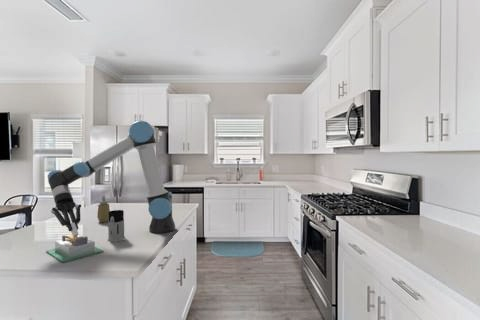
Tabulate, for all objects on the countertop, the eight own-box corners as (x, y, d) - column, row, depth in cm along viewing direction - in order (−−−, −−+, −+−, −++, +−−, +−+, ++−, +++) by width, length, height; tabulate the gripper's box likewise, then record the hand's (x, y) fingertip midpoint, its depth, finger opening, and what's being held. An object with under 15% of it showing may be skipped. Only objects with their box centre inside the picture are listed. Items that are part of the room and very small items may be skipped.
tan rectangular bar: (65, 238, 134) (65, 233, 134) (72, 236, 136) (71, 232, 136) (76, 243, 125) (76, 238, 125) (83, 241, 127) (83, 236, 127)
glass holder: (126, 236, 155) (126, 209, 155) (120, 244, 141) (119, 214, 141) (110, 237, 154) (109, 210, 153) (102, 245, 140) (101, 215, 139)
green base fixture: (46, 251, 131) (45, 235, 130) (84, 242, 144) (84, 227, 143) (62, 263, 116) (62, 244, 116) (103, 252, 130) (103, 235, 129)
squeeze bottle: (97, 223, 185) (97, 196, 185) (97, 221, 192) (96, 195, 192) (110, 222, 189) (110, 195, 189) (110, 219, 196) (109, 194, 196)
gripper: (75, 199, 145) (88, 237, 135) (45, 202, 135) (57, 243, 125) (79, 190, 142) (93, 228, 132) (49, 193, 132) (61, 234, 122)
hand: (75, 235), depth 128 cm, fingers closed
